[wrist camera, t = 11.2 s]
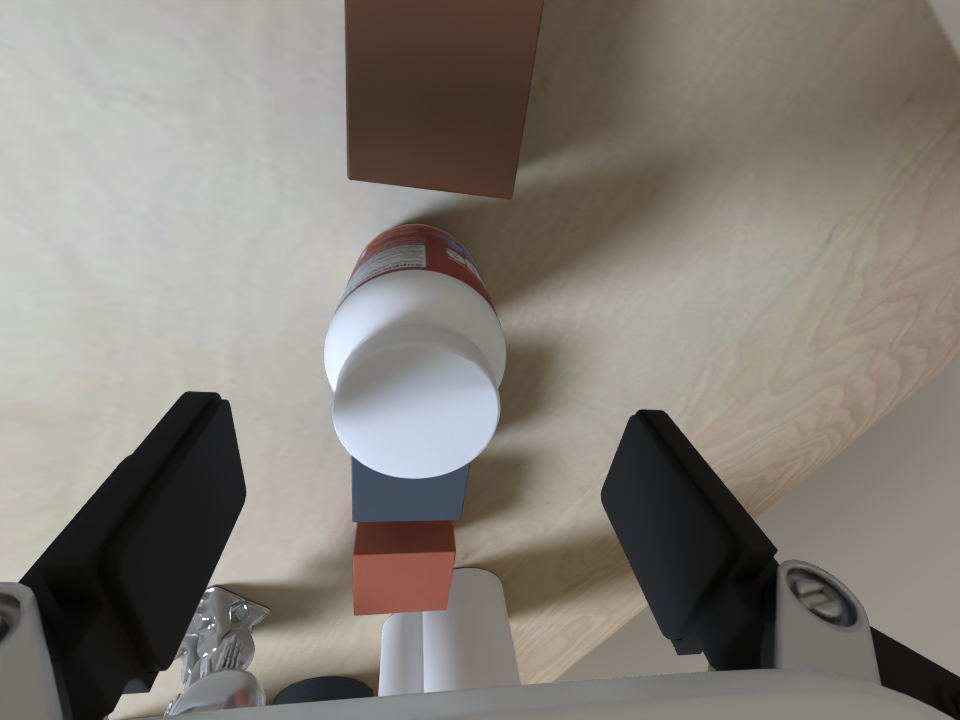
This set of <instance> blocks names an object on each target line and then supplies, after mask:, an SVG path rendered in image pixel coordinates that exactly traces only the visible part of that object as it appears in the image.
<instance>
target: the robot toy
mask: <svg viewBox="0 0 960 720" xmlns="http://www.w3.org/2000/svg"><path fill="white" fill-rule="evenodd" d="M243 602H244V603H243ZM242 603H243V604H242ZM240 604H242V605H241V606H240V607H239V608H238V609H237V610H236V611H235V612H234V616H235V617H236V618H238V619H239V620H240V622H239V623H232V622H231V617H230V610H231V609H232V608H234V607H236V606H238V605H240ZM269 613H270V610H269V609H268V608H266V607H263V606H261V605H258V604H256V603H253V602H251V601H245V599H244V598H242V597H240V596H238V595H235V594H233V593H231V592H228V591H226V590H224V589H221V588H218V587H211V588H210V589H208V590H206V591H205V592H204V594H203V596H202V599H201V601H200V603H199V605H198V607H197V610H196V612H195V614H194V616H193V619H192V621H191V623H190V625H189V627H188V630H187V632H186V634H185V636H184V639H183V641H182V643H181V645H180V647H179V650H178V652H177V654H176V656H175V658H174V660H176V659H177V658H180V659H181V660H182V662H183V667H182V671H181V680H182V683H183V684H184V683H185V685H184V692H183V694H182V695H181V694H178V696H177V697H176V699H175V701H174V704H173V701H171V702H170V703H169V705H168V707H167V709H166V712H165V714H164V715H163V716H166V715H176V714H186V713H196V712H206V711H216V710H226V709H235V708H246V707H258V706H267V704H266V694H265V692H264V689H263V687H262V685H261V682H260V681H259V680H258V679H257V678H256V677H255V676H254V675H253V674H252V673H251V672H249V671H247V670H246V669H247V667H248V666H249V665H250V663H251V661H252V659H253V657H254V652H255V646H254V641H253V638H252V636H251V634H250V633H251V632H252V630H253V626H254V625H255V624H259V623H260V622H261V621H262V620H263V619H264V618H265V617H266V616H267V615H268V614H269ZM174 660H173V661H174ZM180 695H181V696H180ZM172 704H173V706H172ZM171 706H172V708H171ZM170 709H171V710H170Z"/></svg>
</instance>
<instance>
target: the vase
mask: <svg viewBox="0 0 960 720" xmlns="http://www.w3.org/2000/svg"><path fill="white" fill-rule="evenodd" d="M517 685H521V682H520V677H519V672H518V667H517V661H516V656H515V651H514V645H513V640H512V635H511V630H510V624H509V619H508V614H507V608H506V603H505V598H504V593H503V587H502V583H501V581H500V580H499V578H498V577H497V576H496V575H494V574H492V573H491V572H489V571H486V570H482V569H478V568H461V569H455V570H453V572H452V578H451V584H450V591H449V597H448V603H447V609H446V610H441V611H423V612H406V613H394V614H393V615H391V616H390V617H389V618H388V619H387V620H386V621H385V622H384V625H383V630H382V646H381V662H380V678H379V694H378V696H390V695H402V694H415V693H427V692H440V691H453V690H466V689H478V688H491V687H504V686H517Z"/></svg>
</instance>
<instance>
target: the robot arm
mask: <svg viewBox="0 0 960 720" xmlns="http://www.w3.org/2000/svg"><path fill="white" fill-rule="evenodd" d="M245 498H246V486H245V480H244V475H243V470H242V465H241V459H240V454H239V449H238V444H237V438H236V433H235V428H234V423H233V417H232V412H231V407H230V403H229V401H228V400H223V399H221V396H220V395H219V394H218V393H216V392H192V391H188V392H185V393H184V394H183V395H182V396H181V397H180V398H179V399H178V400H177V401H176V403H175V404H174V405H173V406H172V407H171V409H170V410H169V411H168V412H167V413H166V415H165V416H164V417H163V418H162V419H161V420H160V422H159V423H158V424H157V425H156V426H155V428H154V429H153V430H152V431H151V432H150V433H149V435H148V436H147V437H146V438H145V439H144V441H143V442H142V443H141V444H140V445H139V447H138V448H137V449H136V450H135V451H134V452H133V454H132V455H129V456H127V457H126V458H125V459H124V460H123V461H122V462H121V463H120V464H119V465H118V466H117V468H116V469H115V470H114V471H113V472H112V473H111V475H110V476H109V477H108V478H107V479H106V480H105V482H104V483H103V484H102V485H101V486H100V487H99V489H98V490H97V491H96V492H95V493H94V494H93V496H92V497H91V498H90V499H89V500H88V501H87V503H86V504H85V505H84V506H83V507H82V508H81V510H80V511H79V512H78V513H77V514H76V515H75V517H74V518H73V519H72V520H71V521H70V522H69V524H68V525H67V526H66V527H65V528H64V530H63V531H62V532H61V533H60V534H59V535H58V537H57V538H56V539H55V540H54V541H53V542H52V544H51V545H50V546H49V547H48V548H47V549H46V551H45V552H44V553H43V554H42V555H41V556H40V558H39V559H38V560H37V561H36V562H35V563H34V565H33V566H32V567H31V568H30V569H29V570H28V572H27V573H26V574H25V575H24V576H23V577H22V579H21V580H20V581H19V582H18V583H14V582H0V720H109V718H108V715H109V714H110V713H112V712H113V711H114V709H115V707H116V705H117V703H118V701H119V699H120V697H121V695H122V694H131V693H146V692H150V690H151V687H152V685H153V683H154V681H155V679H156V677H157V675H158V673H159V671H166V670H167V669H168V668H169V667H170V665H171V664H172V662H173V660H174V658H175V656H176V654H177V652H178V650H179V647H180V645H181V643H182V641H183V639H184V636H185V634H186V632H187V630H188V627H189V625H190V623H191V621H192V619H193V616H194V614H195V612H196V610H197V607H198V605H199V603H200V601H201V599H202V596H203V594H204V592H205V590H206V587H207V585H208V583H209V581H210V579H211V576H212V574H213V572H214V570H215V567H216V565H217V563H218V561H219V559H220V556H221V554H222V552H223V550H224V547H225V545H226V543H227V541H228V539H229V536H230V534H231V532H232V530H233V527H234V525H235V523H236V521H237V519H238V516H239V514H240V512H241V510H242V507H243V505H244V502H245ZM601 501H602V504H603V507H604V509H605V511H606V513H607V515H608V517H609V520H610V522H611V524H612V526H613V528H614V530H615V533H616V535H617V537H618V539H619V541H620V543H621V546H622V548H623V550H624V552H625V554H626V556H627V559H628V561H629V563H630V565H631V567H632V569H633V572H634V574H635V576H636V578H637V580H638V582H639V585H640V587H641V589H642V591H643V593H644V595H645V598H646V600H647V602H648V604H649V606H650V608H651V611H652V613H653V615H654V617H655V619H656V621H657V623H658V626H659V628H660V630H661V632H662V634H663V635H664V636H665V637H666V638H667V639H670V640H671V642H672V644H673V646H674V648H675V650H676V652H677V654H678V655H690V654H701V653H702V651H703V652H704V654H705V656H706V658H707V660H708V662H709V666H708V672H695V673H680V674H666V675H653V676H638V677H625V678H612V679H598V680H583V681H569V682H557V683H543V684H530V685H517V686H504V687H491V688H478V689H466V690H453V691H440V692H427V693H415V694H402V695H390V696H378V697H366V698H354V699H342V700H330V701H318V702H306V703H294V704H282V705H270V706H258V707H246V708H235V709H226V710H216V711H206V712H196V713H186V714H176V715H166V716H156V717H146V718H136V719H128V720H960V677H958V676H957V675H955V674H953V673H951V672H950V671H948V670H946V669H944V668H943V667H941V666H939V665H937V664H936V663H934V662H932V661H930V660H929V659H927V658H925V657H923V656H922V655H920V654H918V653H916V652H915V651H913V650H911V649H909V648H908V647H906V646H904V645H902V644H901V643H899V642H897V641H895V640H894V639H892V638H890V637H888V636H886V635H885V634H883V633H881V632H880V631H878V630H876V629H874V628H873V627H871V626H870V625H869V620H868V617H867V614H866V612H865V610H864V607H863V606H862V604H861V603H860V602H859V600H858V599H857V597H856V596H855V595H854V594H853V593H852V592H851V591H850V590H849V589H848V588H847V587H846V586H845V585H844V584H843V583H842V582H840V581H839V580H838V579H837V578H835V577H834V576H833V575H831V574H830V573H828V572H826V571H825V570H823V569H821V568H819V567H818V566H815V565H812V564H810V563H808V562H804V561H799V560H788V561H784V562H783V563H781V564H780V565H779V564H778V562H777V561H776V560H775V559H774V557H773V556H774V555H775V554H776V552H777V551H778V550H777V548H776V547H775V546H774V545H773V544H772V542H771V541H770V540H769V539H768V537H767V536H766V535H765V534H764V532H763V531H762V530H761V529H760V528H759V526H758V525H757V524H756V523H755V521H754V520H753V519H752V518H751V516H750V515H749V514H748V513H747V512H746V510H745V509H744V508H743V507H742V505H741V504H740V503H739V502H738V501H737V499H736V498H735V497H734V496H733V494H732V493H731V492H730V491H729V489H728V488H727V487H726V486H725V485H724V483H723V482H722V481H721V480H720V478H719V477H718V476H717V475H716V473H715V472H714V471H713V470H712V469H711V467H710V466H709V465H708V464H707V462H706V461H705V460H704V459H703V458H702V456H701V455H700V454H699V453H698V451H697V450H696V449H695V448H694V446H693V445H692V444H691V443H690V442H689V440H688V439H687V438H686V437H685V435H684V434H683V433H682V432H681V430H680V429H679V428H678V427H677V426H676V424H675V423H674V422H673V421H672V419H671V418H670V417H669V416H668V414H667V413H665V412H664V411H662V410H639V411H638V412H636V414H635V415H632V416H631V417H630V418H629V421H628V423H627V426H626V428H625V431H624V433H623V436H622V439H621V441H620V444H619V446H618V449H617V452H616V454H615V457H614V459H613V462H612V464H611V467H610V470H609V472H608V475H607V477H606V480H605V482H604V485H603V488H602V491H601Z"/></svg>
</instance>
